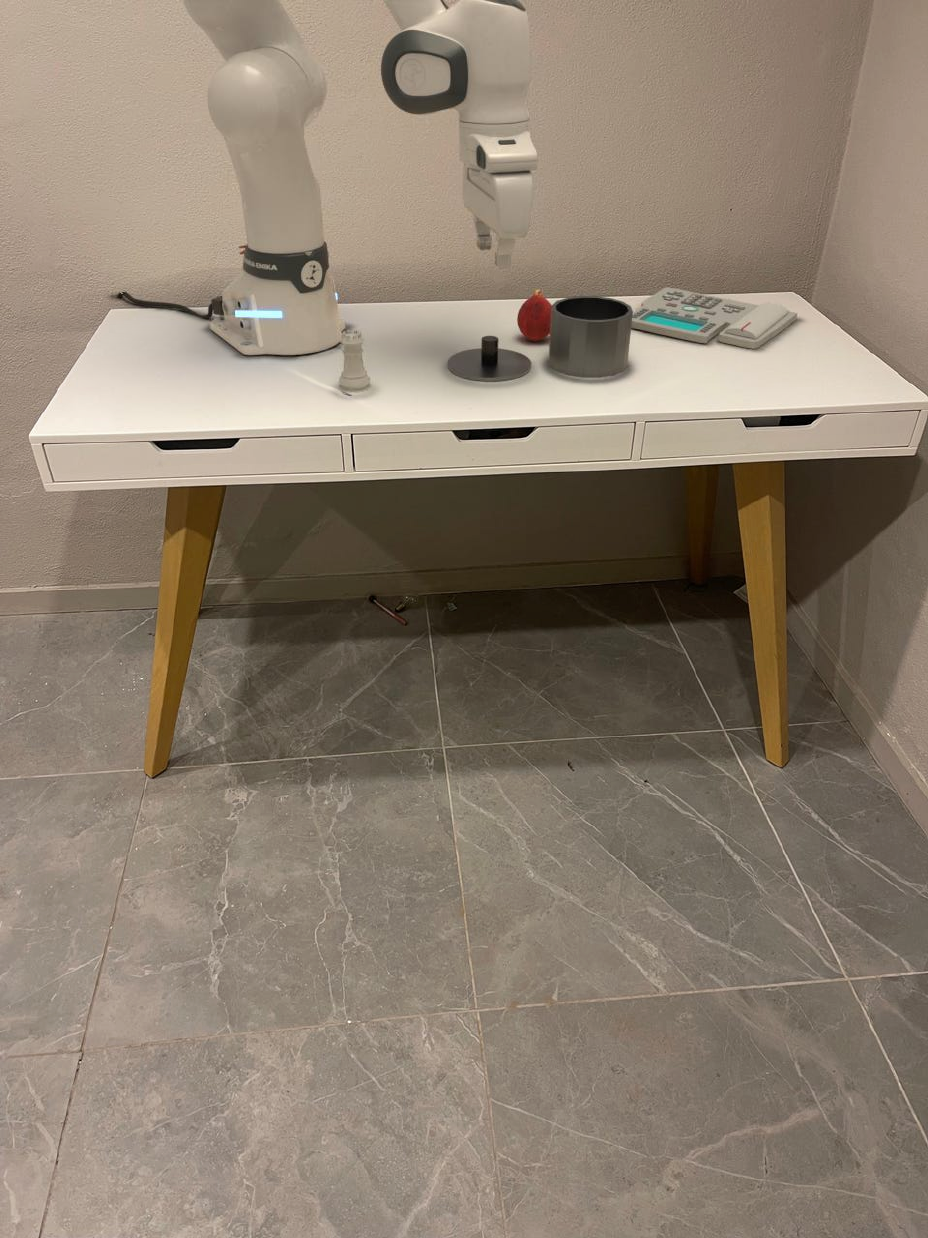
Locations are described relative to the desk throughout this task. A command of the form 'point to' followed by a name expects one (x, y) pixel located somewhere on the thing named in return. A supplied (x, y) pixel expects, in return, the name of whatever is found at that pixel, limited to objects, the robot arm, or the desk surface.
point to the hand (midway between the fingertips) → (493, 257)
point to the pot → (589, 336)
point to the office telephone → (711, 318)
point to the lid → (489, 362)
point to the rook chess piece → (353, 364)
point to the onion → (535, 317)
